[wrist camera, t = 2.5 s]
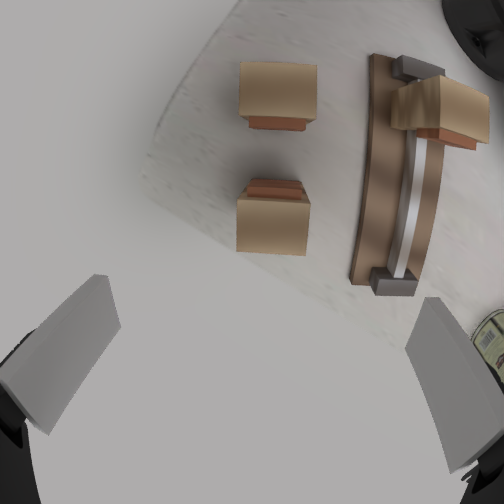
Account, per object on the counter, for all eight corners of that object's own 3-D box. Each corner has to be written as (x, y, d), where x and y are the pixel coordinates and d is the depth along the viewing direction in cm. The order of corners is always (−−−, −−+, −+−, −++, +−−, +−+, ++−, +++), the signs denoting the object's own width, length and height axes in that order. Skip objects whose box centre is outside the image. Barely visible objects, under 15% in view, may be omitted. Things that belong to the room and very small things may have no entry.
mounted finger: (391, 91, 22) (439, 74, 12) (432, 102, 21) (489, 96, 12) (389, 134, 24) (439, 137, 14) (431, 144, 23) (487, 153, 14)
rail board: (369, 56, 22) (383, 45, 17) (439, 76, 21) (459, 71, 17) (349, 278, 32) (357, 298, 28) (412, 281, 31) (426, 300, 27)
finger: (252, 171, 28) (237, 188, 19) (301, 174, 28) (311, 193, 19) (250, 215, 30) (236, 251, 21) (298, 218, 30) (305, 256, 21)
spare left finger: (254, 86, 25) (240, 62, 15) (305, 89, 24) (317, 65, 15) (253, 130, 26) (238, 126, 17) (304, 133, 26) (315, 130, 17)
